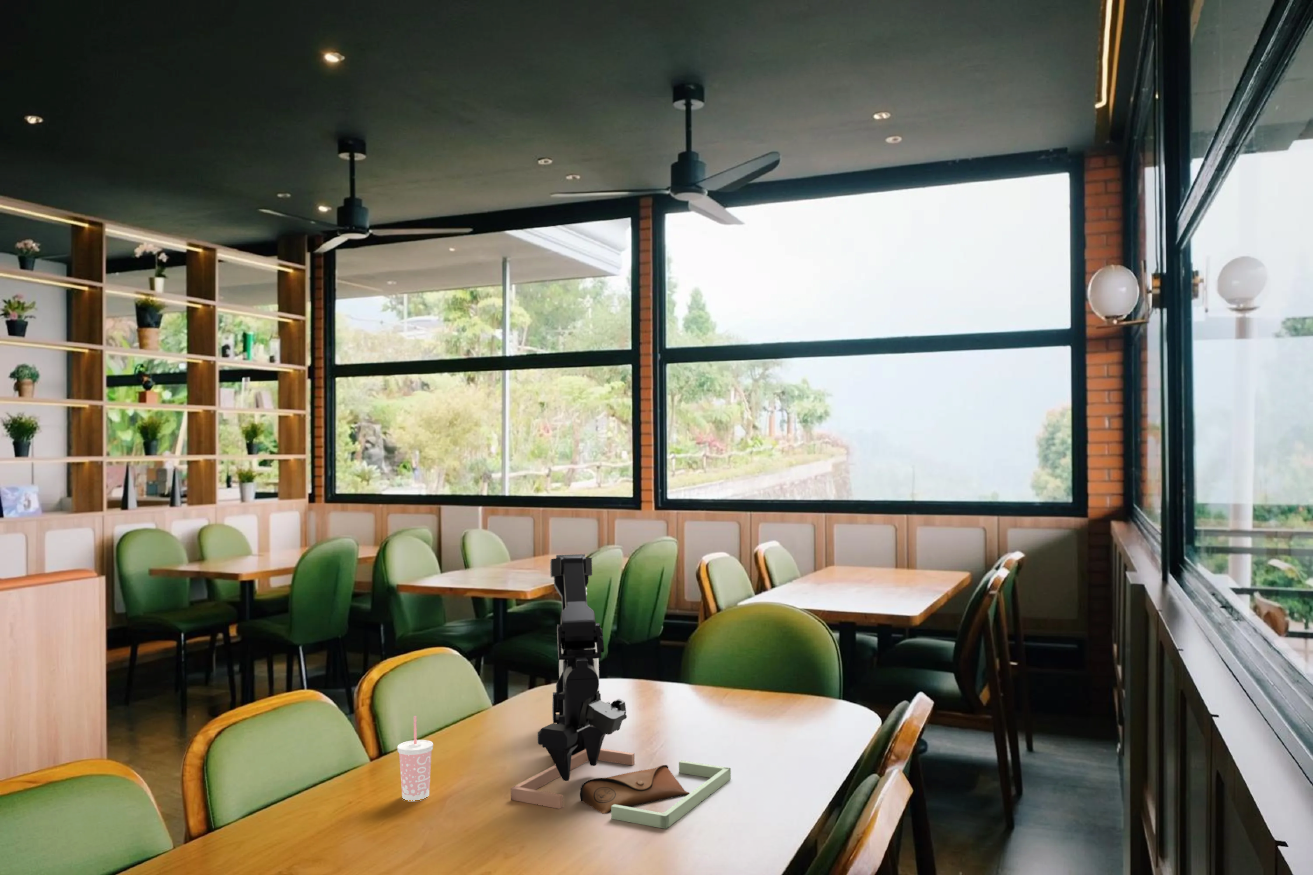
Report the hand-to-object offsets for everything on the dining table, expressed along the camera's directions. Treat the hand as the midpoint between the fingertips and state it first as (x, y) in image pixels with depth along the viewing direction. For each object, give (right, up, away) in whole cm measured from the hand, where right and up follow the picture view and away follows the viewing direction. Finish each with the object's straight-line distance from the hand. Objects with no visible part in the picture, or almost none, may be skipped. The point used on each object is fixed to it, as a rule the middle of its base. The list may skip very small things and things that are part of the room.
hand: (579, 772), depth 173 cm
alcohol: (-3, -3, +39) cm, 39 cm away
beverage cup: (-28, -2, -7) cm, 29 cm away
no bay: (-1, -2, 0) cm, 2 cm away
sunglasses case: (+10, -2, -8) cm, 13 cm away
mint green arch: (+17, -1, -9) cm, 19 cm away
